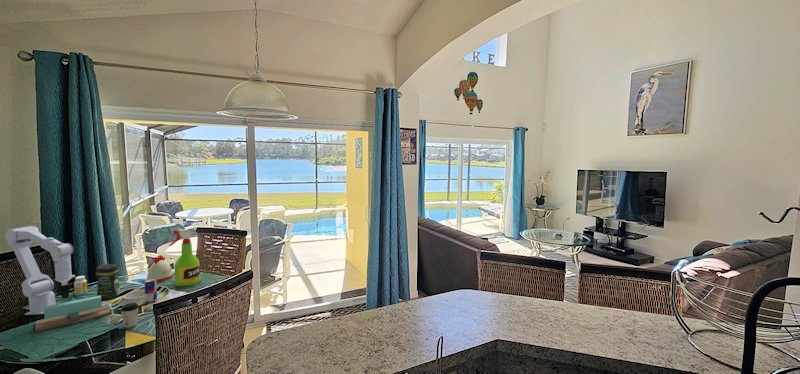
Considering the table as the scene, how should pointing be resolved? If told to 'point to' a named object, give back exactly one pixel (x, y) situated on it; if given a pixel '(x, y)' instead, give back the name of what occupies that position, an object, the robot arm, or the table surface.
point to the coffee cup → (130, 314)
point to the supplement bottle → (80, 285)
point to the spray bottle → (186, 261)
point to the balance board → (67, 319)
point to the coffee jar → (108, 280)
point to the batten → (72, 307)
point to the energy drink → (150, 290)
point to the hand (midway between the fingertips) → (65, 295)
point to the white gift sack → (160, 270)
